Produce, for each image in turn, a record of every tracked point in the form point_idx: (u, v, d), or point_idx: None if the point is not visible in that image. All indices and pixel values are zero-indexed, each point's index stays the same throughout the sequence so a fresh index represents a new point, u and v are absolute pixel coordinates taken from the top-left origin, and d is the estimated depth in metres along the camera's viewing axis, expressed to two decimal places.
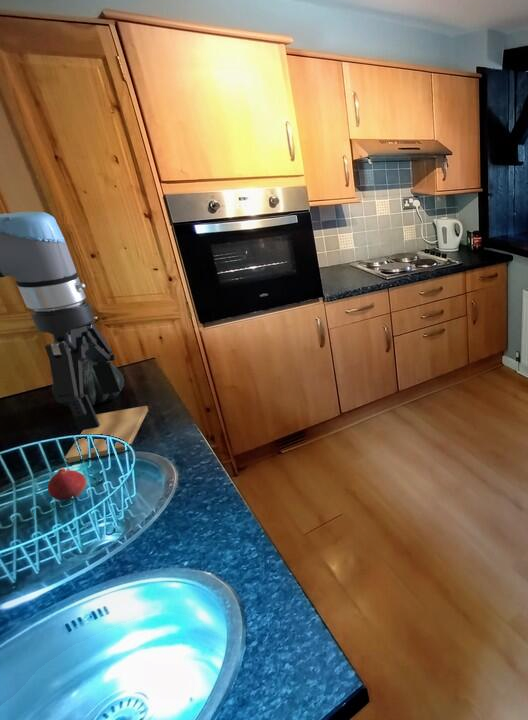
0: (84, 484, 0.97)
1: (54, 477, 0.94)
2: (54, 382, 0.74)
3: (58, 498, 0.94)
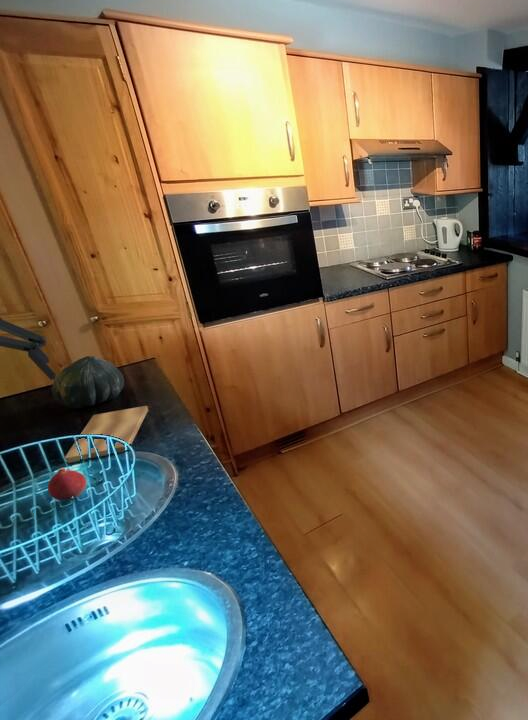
0: (84, 484, 0.97)
1: (54, 477, 0.94)
2: (27, 330, 0.93)
3: (58, 498, 0.94)
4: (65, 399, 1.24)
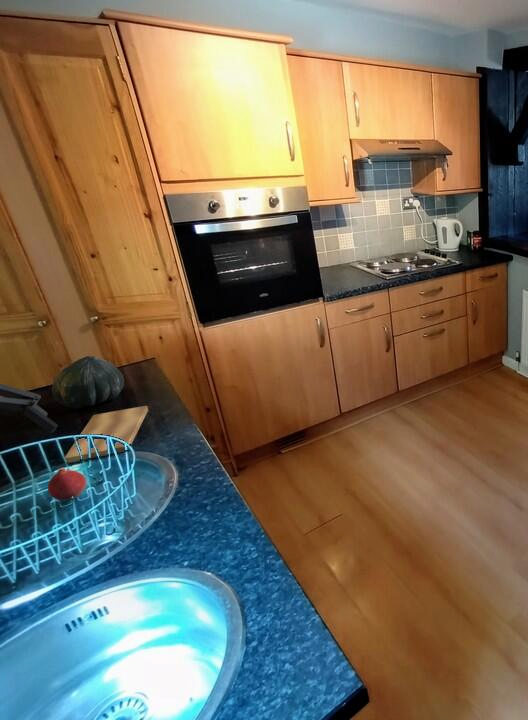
0: (84, 484, 0.97)
1: (54, 477, 0.94)
2: (22, 390, 0.99)
3: (58, 498, 0.94)
4: (65, 399, 1.24)
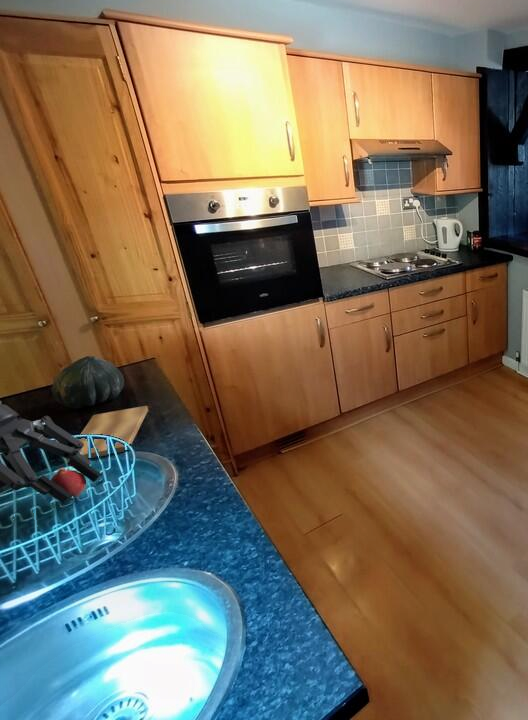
0: (84, 484, 0.97)
1: (54, 477, 0.94)
2: (70, 435, 0.99)
3: None
4: (65, 399, 1.24)
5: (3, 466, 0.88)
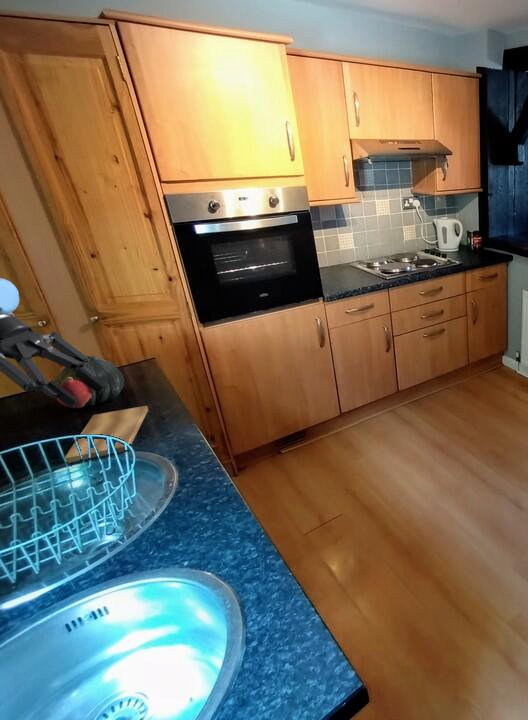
0: (90, 394, 1.05)
1: (62, 384, 1.02)
2: (77, 350, 1.07)
3: None
4: None
5: (16, 369, 0.96)
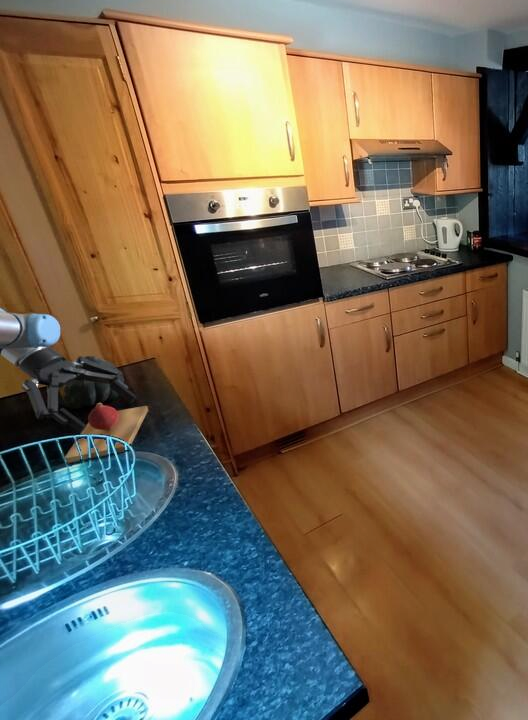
0: (117, 417, 1.17)
1: (93, 410, 1.14)
2: (107, 367, 1.21)
3: (97, 427, 1.14)
4: (65, 399, 1.24)
5: (39, 396, 1.06)
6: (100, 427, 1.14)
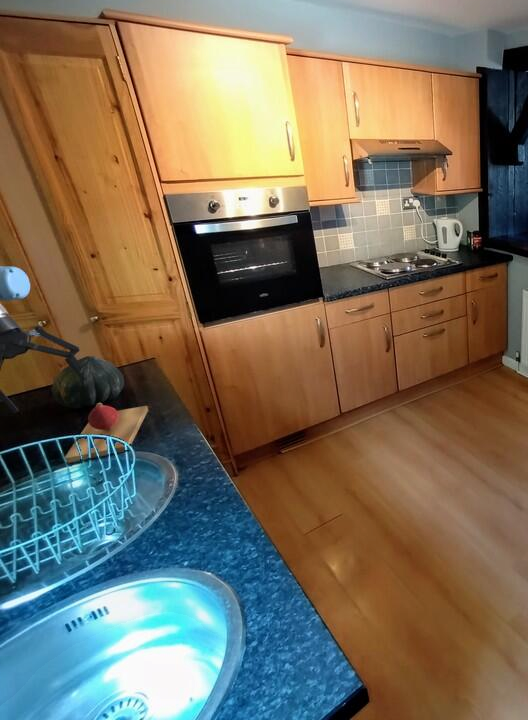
0: (117, 417, 1.17)
1: (93, 410, 1.14)
2: (65, 341, 1.16)
3: (97, 427, 1.14)
4: (65, 399, 1.24)
5: None
6: (100, 427, 1.14)
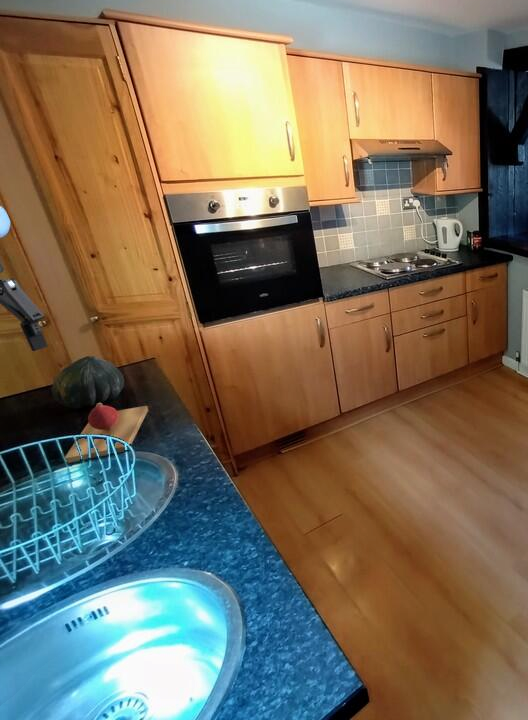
0: (117, 417, 1.17)
1: (93, 410, 1.14)
2: (23, 307, 0.98)
3: (97, 427, 1.14)
4: (65, 399, 1.24)
5: None
6: (100, 427, 1.14)
